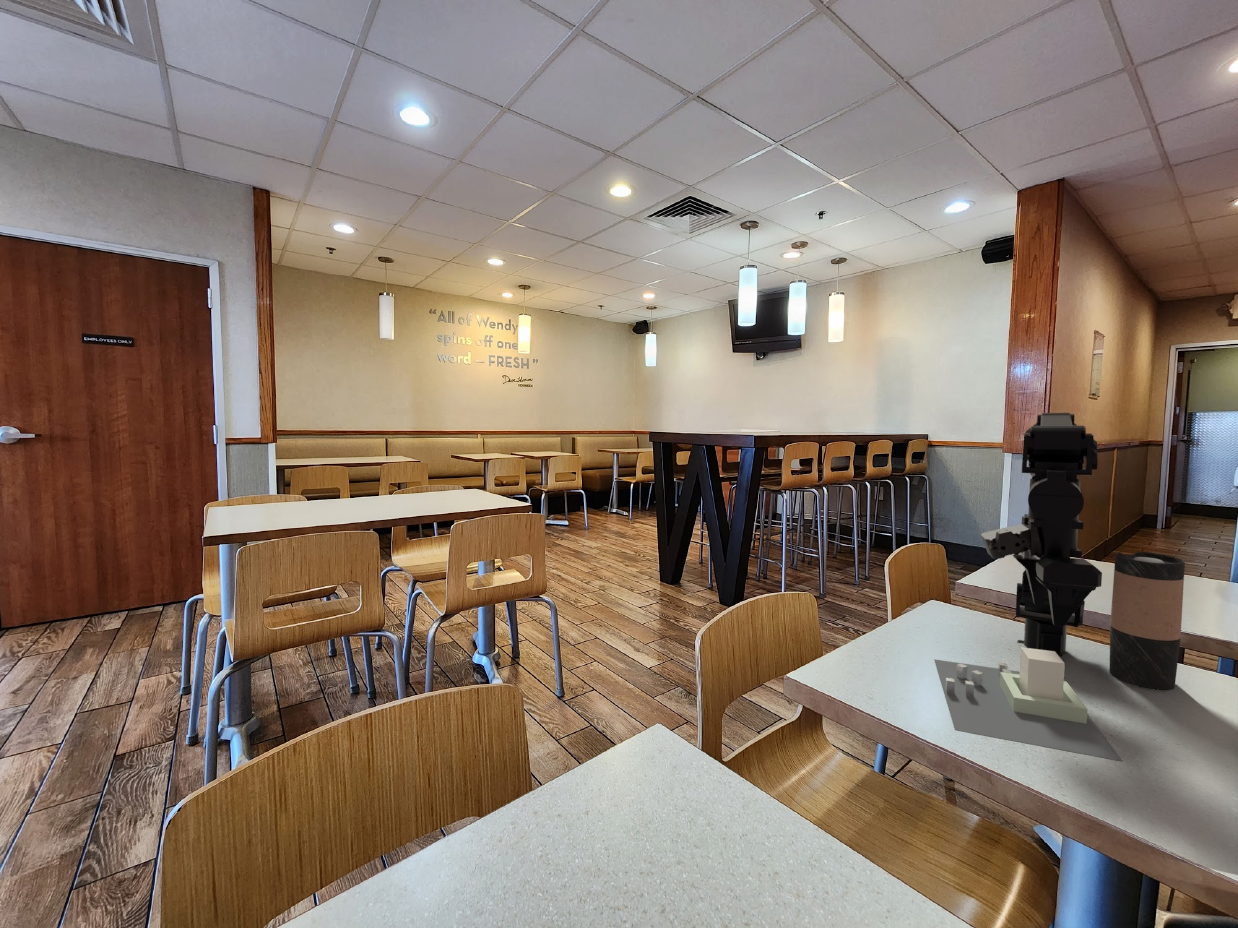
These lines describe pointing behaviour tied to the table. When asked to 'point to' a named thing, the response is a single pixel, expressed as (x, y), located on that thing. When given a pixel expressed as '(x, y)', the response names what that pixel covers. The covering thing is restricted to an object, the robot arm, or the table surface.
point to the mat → (1015, 717)
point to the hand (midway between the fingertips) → (1047, 614)
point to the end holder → (1043, 701)
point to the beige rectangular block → (1041, 674)
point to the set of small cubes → (976, 679)
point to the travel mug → (1146, 619)
